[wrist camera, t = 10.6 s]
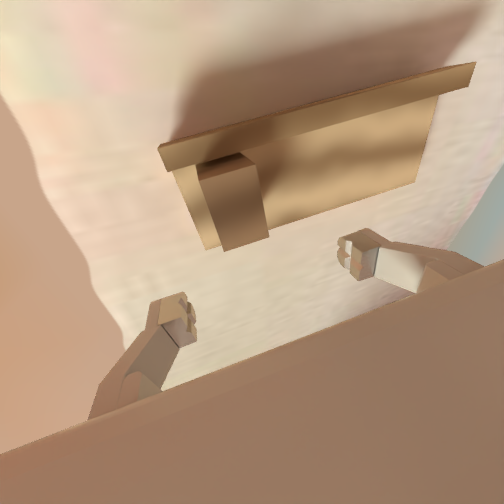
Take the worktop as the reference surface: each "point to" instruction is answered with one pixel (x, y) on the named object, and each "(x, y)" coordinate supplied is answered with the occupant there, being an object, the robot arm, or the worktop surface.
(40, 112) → the worktop surface
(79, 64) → the worktop surface
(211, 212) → the brown block
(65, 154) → the worktop surface
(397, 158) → the board
